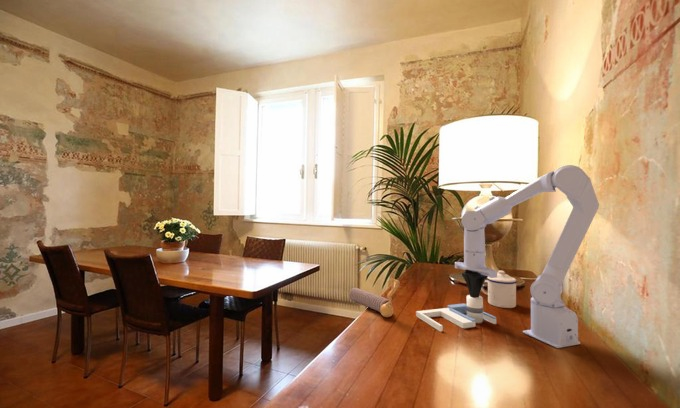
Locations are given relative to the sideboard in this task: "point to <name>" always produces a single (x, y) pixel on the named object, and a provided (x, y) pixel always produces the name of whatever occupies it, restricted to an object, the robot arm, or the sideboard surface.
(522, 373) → the sideboard surface
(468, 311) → the banded white cylinder
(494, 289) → the teacup with lid
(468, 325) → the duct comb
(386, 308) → the figurine
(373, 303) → the coil
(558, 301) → the robot arm
